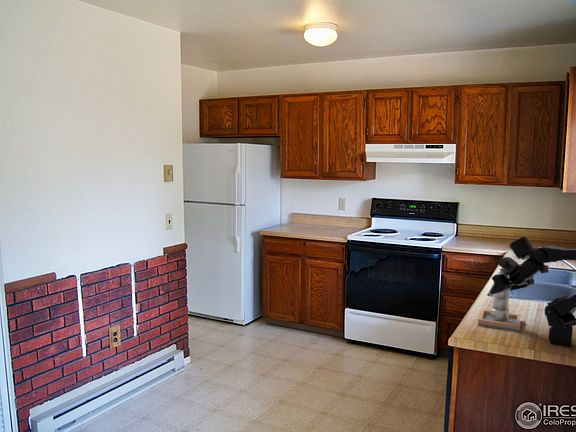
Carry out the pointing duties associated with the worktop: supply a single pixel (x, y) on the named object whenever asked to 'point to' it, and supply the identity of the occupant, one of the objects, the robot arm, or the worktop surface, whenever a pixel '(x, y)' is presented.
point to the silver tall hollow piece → (501, 303)
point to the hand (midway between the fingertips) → (498, 291)
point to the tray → (510, 324)
